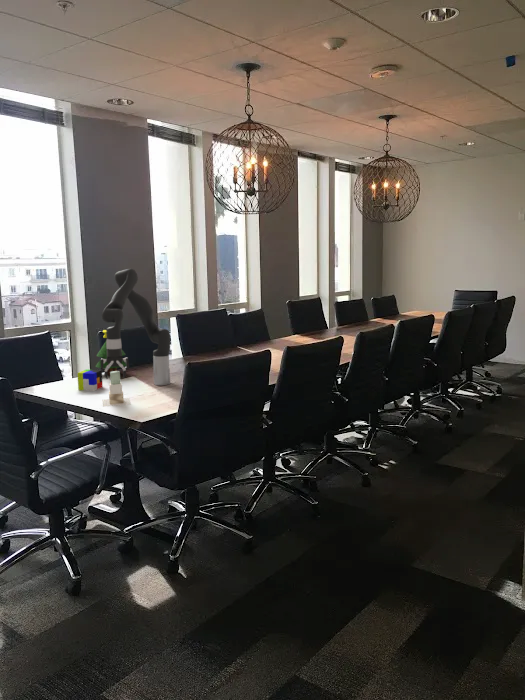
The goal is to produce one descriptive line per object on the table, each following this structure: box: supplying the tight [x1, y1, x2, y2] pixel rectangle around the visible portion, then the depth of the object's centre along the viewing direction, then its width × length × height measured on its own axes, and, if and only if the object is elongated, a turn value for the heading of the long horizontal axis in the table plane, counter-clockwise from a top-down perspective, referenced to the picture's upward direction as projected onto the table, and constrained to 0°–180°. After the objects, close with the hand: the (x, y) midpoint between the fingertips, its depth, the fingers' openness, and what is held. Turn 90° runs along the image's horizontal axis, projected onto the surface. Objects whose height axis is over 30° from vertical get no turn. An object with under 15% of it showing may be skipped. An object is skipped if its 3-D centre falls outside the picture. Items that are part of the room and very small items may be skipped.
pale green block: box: [109, 370, 122, 384], centre depth 308 cm, size 5×5×6 cm
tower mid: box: [109, 381, 123, 394], centre depth 309 cm, size 6×6×5 cm
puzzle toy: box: [77, 369, 104, 392], centre depth 342 cm, size 10×10×10 cm
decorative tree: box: [95, 329, 126, 377], centre depth 377 cm, size 19×19×30 cm
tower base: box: [108, 390, 124, 404], centre depth 310 cm, size 7×7×5 cm
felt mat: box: [102, 397, 132, 407], centre depth 310 cm, size 14×14×1 cm
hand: (115, 378), depth 308 cm, fingers open, 8 cm apart
